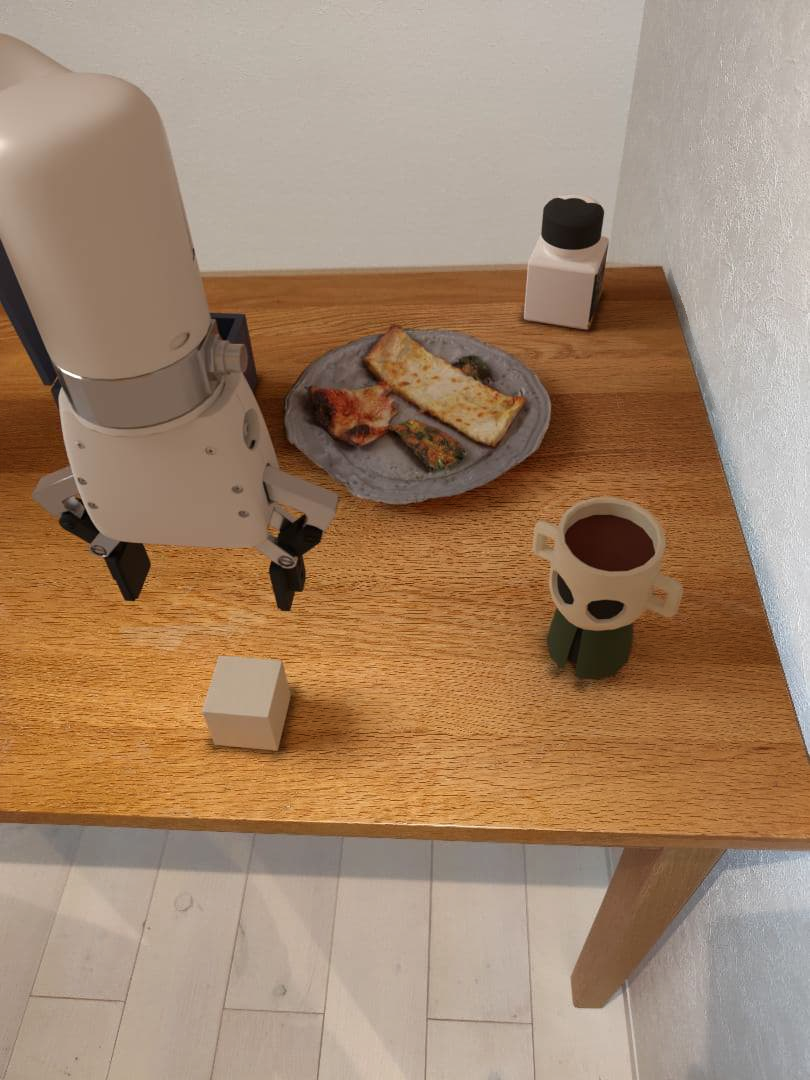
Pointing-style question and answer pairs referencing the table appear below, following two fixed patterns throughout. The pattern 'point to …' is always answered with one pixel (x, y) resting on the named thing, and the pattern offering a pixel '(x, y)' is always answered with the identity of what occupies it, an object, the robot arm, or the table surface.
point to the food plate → (416, 414)
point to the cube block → (247, 702)
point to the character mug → (603, 581)
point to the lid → (23, 320)
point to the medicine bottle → (567, 263)
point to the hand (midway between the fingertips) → (213, 588)
